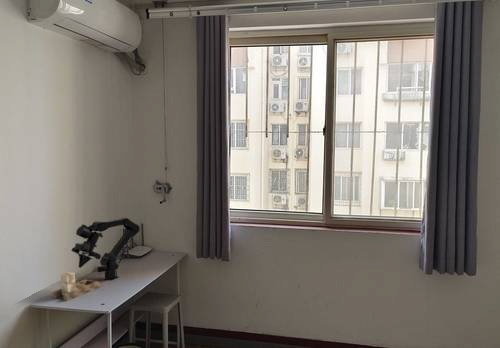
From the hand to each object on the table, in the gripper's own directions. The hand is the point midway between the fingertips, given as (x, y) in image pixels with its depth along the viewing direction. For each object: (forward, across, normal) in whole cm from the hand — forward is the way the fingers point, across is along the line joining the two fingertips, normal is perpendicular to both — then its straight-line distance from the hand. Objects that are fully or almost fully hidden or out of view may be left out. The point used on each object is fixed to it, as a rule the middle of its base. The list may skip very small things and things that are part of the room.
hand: (79, 267), depth 241 cm
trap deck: (+13, +4, +3) cm, 14 cm away
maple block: (+13, +3, -3) cm, 14 cm away
